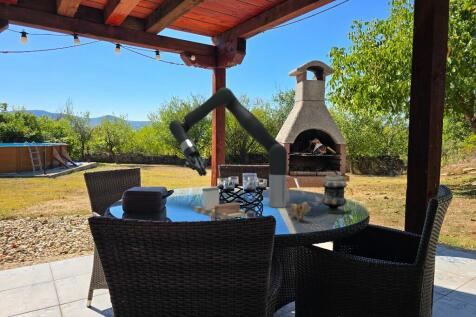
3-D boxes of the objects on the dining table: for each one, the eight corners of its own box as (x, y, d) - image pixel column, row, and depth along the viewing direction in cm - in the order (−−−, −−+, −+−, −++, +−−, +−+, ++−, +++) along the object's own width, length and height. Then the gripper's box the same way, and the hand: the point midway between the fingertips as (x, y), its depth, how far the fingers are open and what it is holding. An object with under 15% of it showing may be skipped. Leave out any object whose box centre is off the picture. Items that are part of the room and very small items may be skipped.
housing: (193, 211, 169) (193, 200, 168) (212, 208, 177) (212, 197, 176) (225, 220, 151) (225, 207, 151) (244, 216, 159) (244, 204, 159)
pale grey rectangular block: (202, 208, 166) (202, 188, 166) (215, 206, 172) (215, 187, 171) (206, 209, 164) (206, 189, 164) (219, 207, 170) (219, 187, 169)
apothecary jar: (350, 213, 165) (351, 177, 164) (327, 215, 162) (328, 177, 161) (338, 208, 177) (339, 174, 175) (317, 209, 174) (317, 174, 173)
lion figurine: (312, 222, 147) (312, 202, 147) (302, 224, 145) (302, 203, 145) (292, 215, 161) (292, 196, 160) (283, 216, 158) (283, 197, 158)
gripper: (181, 145, 173) (195, 170, 165) (203, 145, 182) (217, 169, 174) (176, 155, 177) (189, 180, 169) (197, 154, 186) (211, 178, 178)
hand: (203, 174), depth 171 cm, fingers closed
